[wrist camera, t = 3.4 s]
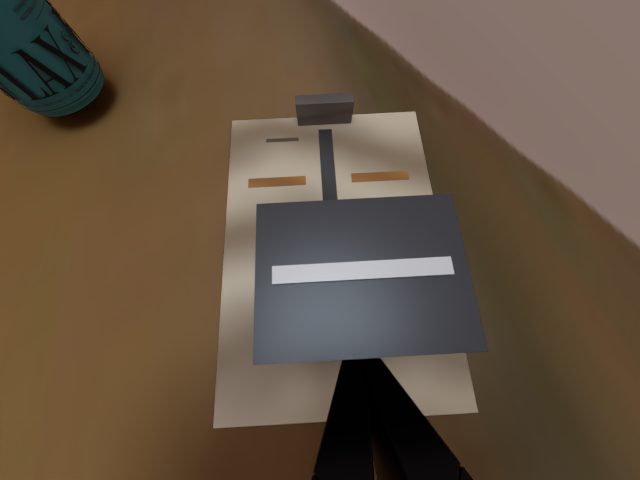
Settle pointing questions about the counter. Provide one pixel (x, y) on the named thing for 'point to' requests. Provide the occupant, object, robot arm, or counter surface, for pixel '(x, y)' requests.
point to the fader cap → (362, 281)
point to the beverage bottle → (45, 60)
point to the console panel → (315, 185)
